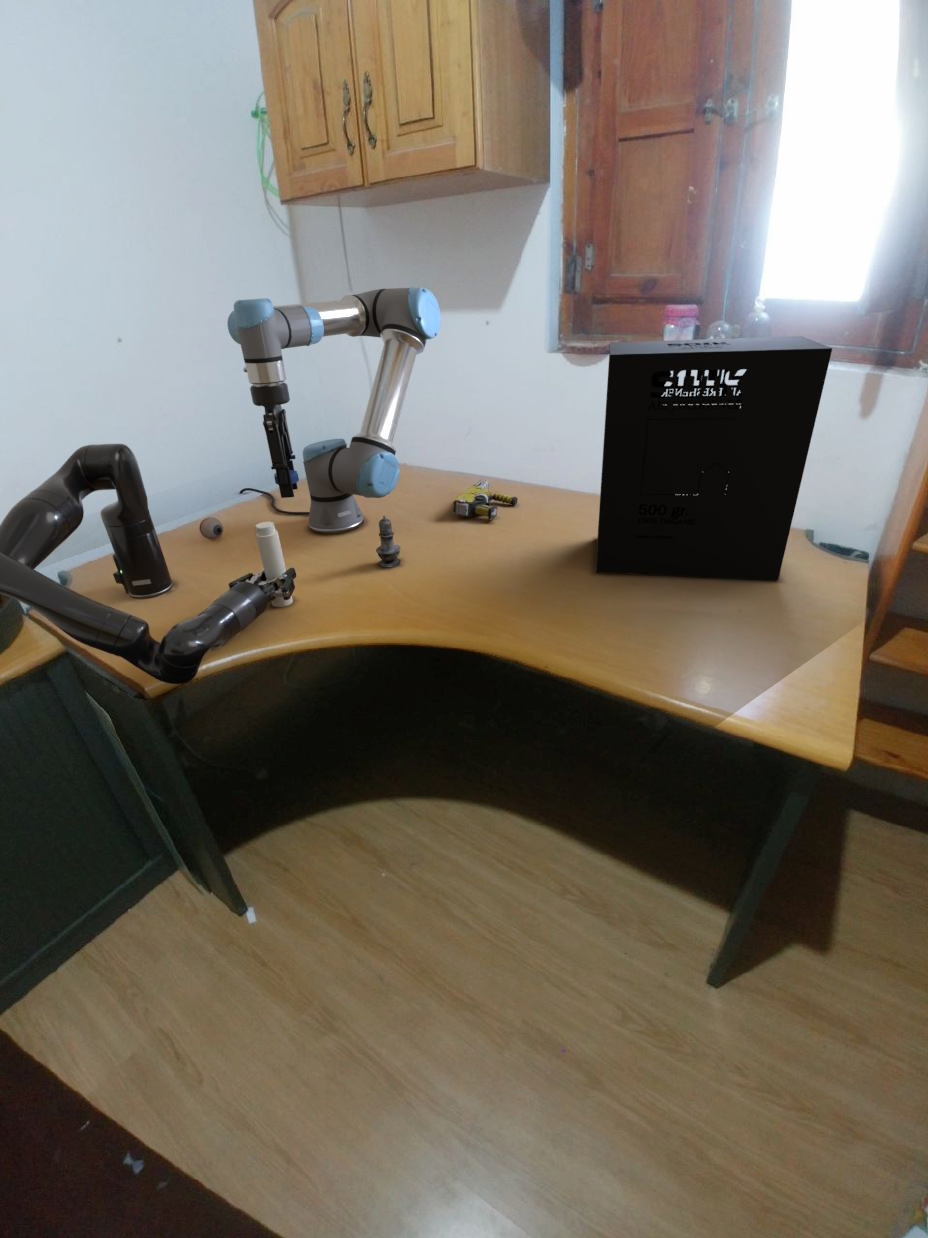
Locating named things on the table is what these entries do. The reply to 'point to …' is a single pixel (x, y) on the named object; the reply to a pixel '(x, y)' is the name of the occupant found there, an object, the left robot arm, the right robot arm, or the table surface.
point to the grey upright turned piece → (387, 545)
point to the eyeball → (211, 528)
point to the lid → (292, 474)
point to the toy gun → (480, 501)
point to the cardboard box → (705, 455)
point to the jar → (271, 556)
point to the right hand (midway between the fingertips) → (289, 492)
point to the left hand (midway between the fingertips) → (283, 570)
